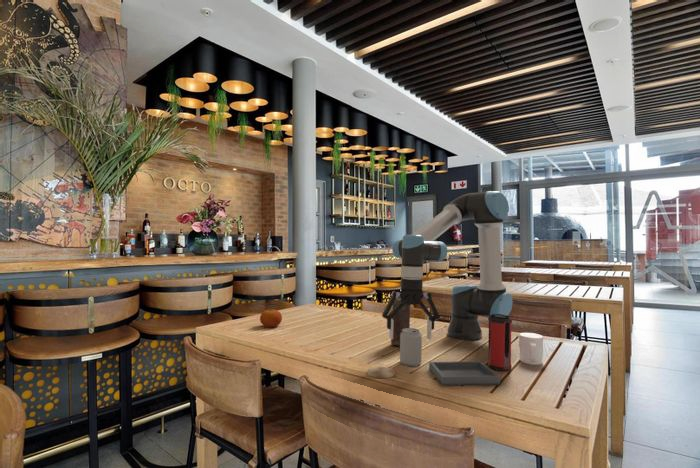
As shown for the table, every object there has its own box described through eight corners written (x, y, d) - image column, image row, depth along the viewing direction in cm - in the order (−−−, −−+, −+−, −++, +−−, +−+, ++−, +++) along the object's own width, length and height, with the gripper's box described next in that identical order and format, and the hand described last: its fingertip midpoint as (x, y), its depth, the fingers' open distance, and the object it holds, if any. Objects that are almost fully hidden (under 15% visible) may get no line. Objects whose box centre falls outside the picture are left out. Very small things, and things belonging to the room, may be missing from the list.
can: (421, 368, 129) (421, 333, 129) (399, 366, 130) (399, 331, 130) (421, 361, 136) (421, 327, 136) (400, 359, 138) (401, 326, 138)
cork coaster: (391, 368, 128) (391, 366, 128) (397, 378, 119) (397, 376, 119) (365, 368, 127) (365, 366, 127) (369, 378, 118) (369, 376, 118)
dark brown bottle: (411, 344, 157) (412, 296, 157) (406, 349, 150) (407, 299, 150) (394, 342, 160) (395, 295, 160) (388, 346, 153) (389, 297, 154)
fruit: (279, 329, 178) (279, 312, 178) (257, 329, 178) (257, 312, 179) (283, 324, 189) (283, 308, 189) (263, 323, 189) (263, 307, 189)
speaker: (499, 372, 125) (500, 318, 125) (482, 365, 132) (483, 314, 133) (516, 370, 128) (517, 317, 129) (499, 362, 135) (499, 312, 136)
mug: (517, 331, 145) (540, 333, 142) (517, 355, 144) (540, 358, 142) (521, 339, 133) (546, 341, 131) (521, 365, 133) (546, 368, 131)
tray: (480, 368, 129) (480, 361, 129) (500, 385, 115) (500, 376, 115) (429, 369, 128) (429, 361, 128) (442, 385, 114) (442, 377, 114)
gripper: (442, 277, 138) (441, 336, 138) (375, 276, 136) (373, 335, 136) (449, 280, 131) (448, 341, 130) (378, 278, 129) (376, 340, 128)
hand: (410, 338), depth 133 cm, fingers open, 13 cm apart
